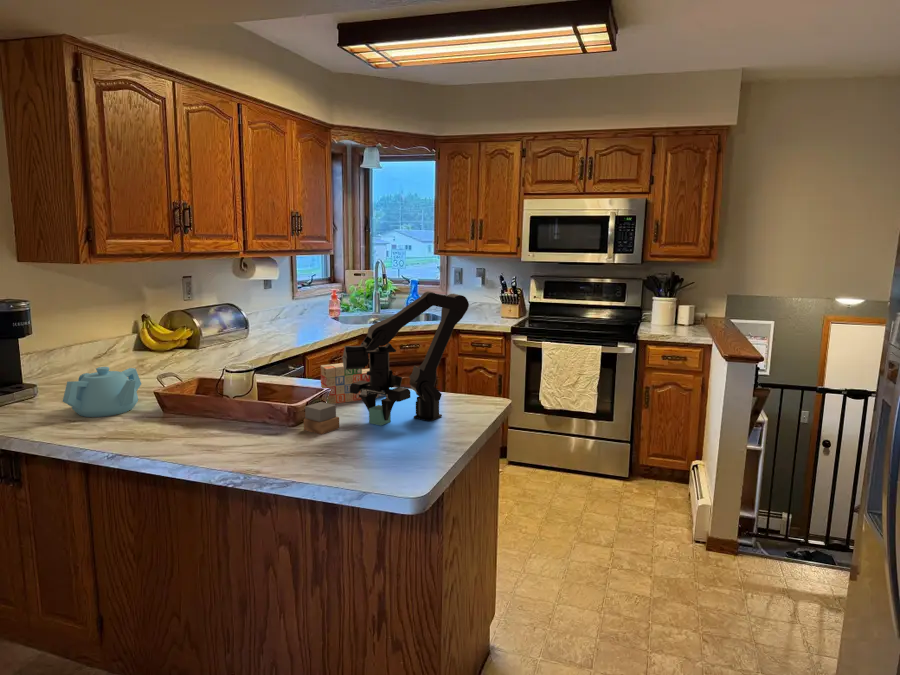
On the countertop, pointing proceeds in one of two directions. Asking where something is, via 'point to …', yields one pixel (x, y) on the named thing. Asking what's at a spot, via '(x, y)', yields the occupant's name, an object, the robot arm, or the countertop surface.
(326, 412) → the charcoal block
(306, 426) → the walnut base block
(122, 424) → the countertop surface
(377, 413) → the teal block
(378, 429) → the countertop surface
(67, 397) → the teapot
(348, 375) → the stack of blocks
